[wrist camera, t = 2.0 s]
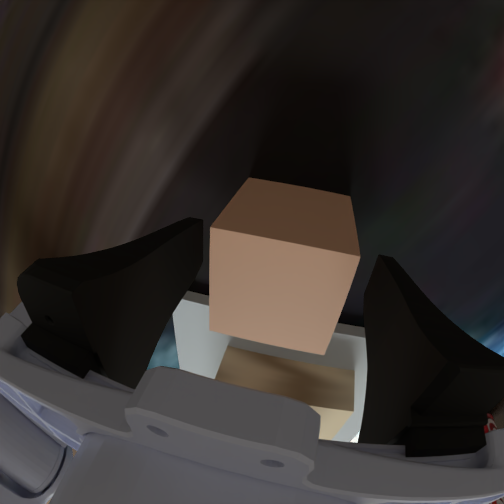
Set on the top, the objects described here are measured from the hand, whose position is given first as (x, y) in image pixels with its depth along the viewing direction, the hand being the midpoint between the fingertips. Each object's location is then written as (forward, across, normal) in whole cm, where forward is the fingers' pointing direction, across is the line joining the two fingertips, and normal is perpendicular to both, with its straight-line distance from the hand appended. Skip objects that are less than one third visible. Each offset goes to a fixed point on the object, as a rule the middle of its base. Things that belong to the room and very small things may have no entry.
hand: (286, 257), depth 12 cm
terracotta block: (+2, 0, 0) cm, 2 cm away
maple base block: (+2, -1, +12) cm, 12 cm away
